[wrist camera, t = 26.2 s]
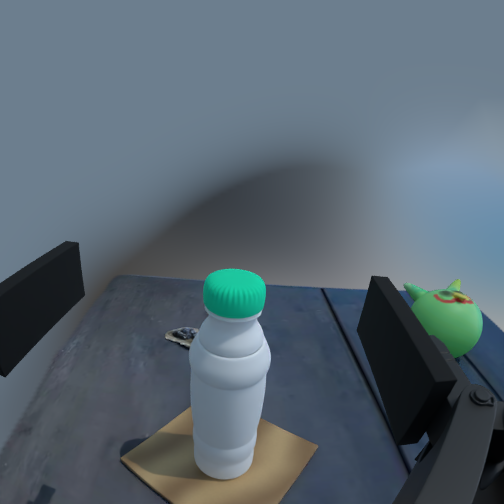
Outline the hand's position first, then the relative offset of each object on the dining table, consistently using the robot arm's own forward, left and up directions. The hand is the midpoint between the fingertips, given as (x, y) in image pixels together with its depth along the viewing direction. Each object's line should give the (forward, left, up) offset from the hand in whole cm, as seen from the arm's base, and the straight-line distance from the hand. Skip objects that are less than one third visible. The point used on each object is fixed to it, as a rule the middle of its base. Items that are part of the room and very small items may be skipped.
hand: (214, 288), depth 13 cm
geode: (-27, +25, -30) cm, 48 cm away
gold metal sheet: (-5, +8, -30) cm, 32 cm away
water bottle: (-5, +9, -29) cm, 31 cm away
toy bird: (+17, +53, -30) cm, 64 cm away
